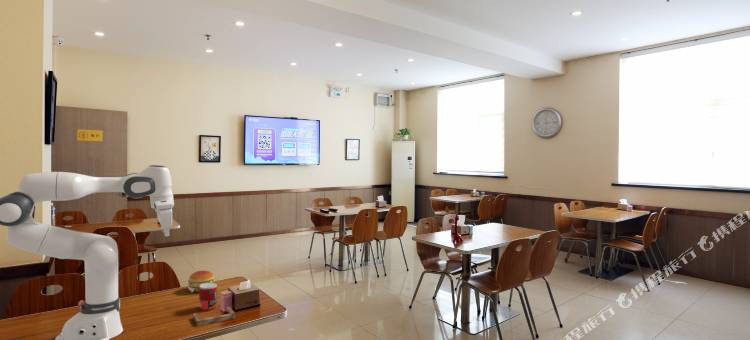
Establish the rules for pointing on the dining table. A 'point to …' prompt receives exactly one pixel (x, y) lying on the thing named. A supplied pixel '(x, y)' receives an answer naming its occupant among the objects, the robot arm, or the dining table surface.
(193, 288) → the burger
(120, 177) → the robot arm
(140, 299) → the dining table surface
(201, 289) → the canned food
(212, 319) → the tray
